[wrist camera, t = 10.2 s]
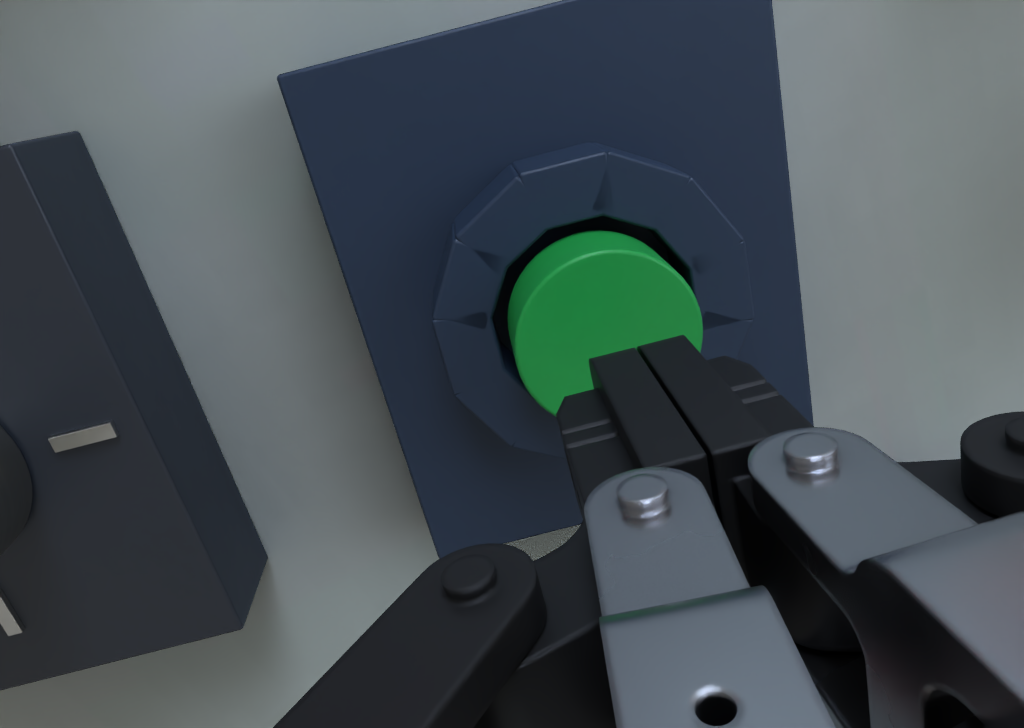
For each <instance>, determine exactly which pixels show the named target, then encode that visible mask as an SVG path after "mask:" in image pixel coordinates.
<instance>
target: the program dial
mask: <svg viewBox="0 0 1024 728" xmlns="http://www.w3.org/2000/svg"><path fill="white" fill-rule="evenodd" d="M31 504H32V483H31V477H30V473H29V470H28V467H27V464H26V462H25V460H24V458H23V456H22V454H21V452H20V450H19V448H18V447H17V445H16V444H15V442H14V441H13V439H12V438H11V437H10V436H9V435H8V434H7V432H6V431H5V430H4V429H3V428H2V427H1V426H0V556H1V555H2V554H3V552H4V551H5V550H6V549H7V548H8V547H9V546H10V545H11V543H12V542H13V541H14V540H15V539H16V538H17V536H18V535H19V534H20V532H21V531H22V530H23V528H24V526H25V524H26V522H27V520H28V517H29V514H30V510H31Z"/></svg>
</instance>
